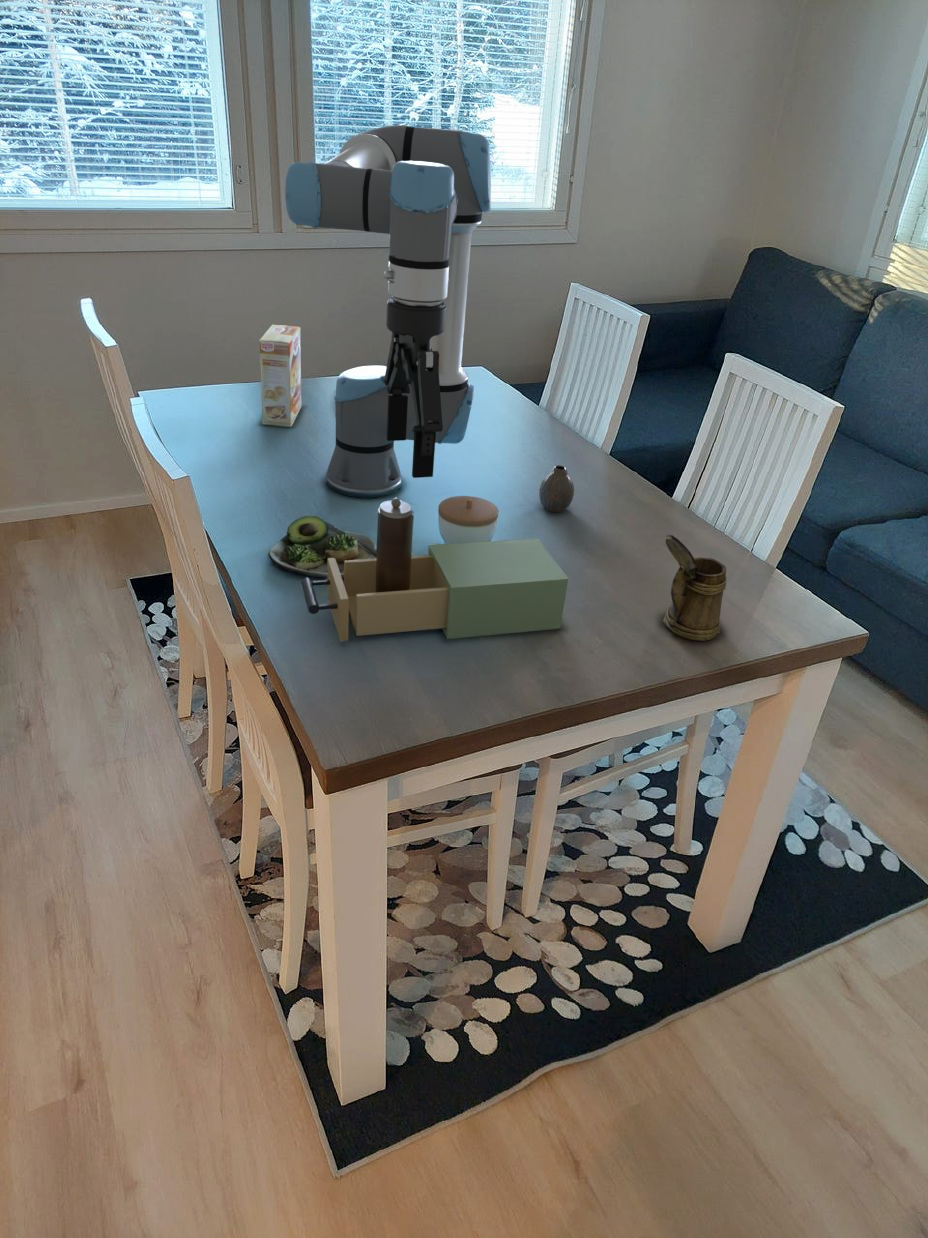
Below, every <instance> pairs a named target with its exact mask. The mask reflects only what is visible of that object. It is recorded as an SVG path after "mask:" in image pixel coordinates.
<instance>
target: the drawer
mask: <svg viewBox="0 0 928 1238" xmlns="http://www.w3.org/2000/svg"><path fill="white" fill-rule="evenodd" d="M300 585H301V587H302V592H303V597H304V599H305V604H306V607H307V611H308V613H309V614H311V615H316V614H318V613H319V612H320V611H326V610H330V612H331V615H332V618H333V622H334V624H335V628H336V632H337V635H338V639H339V641H340V642H348V641H349V621H350V620H351V621H350V622H351V624H352V627H353V630H354V633H355V635H356V637H357V636H358V637H360V636H373V635H383V634H393V633H394V634H395V633H404V632H414V631H415V632H416V631H426V630H438V629H442V628H447V617H448V605H449V593H450V589H449V587H448V585H447V583H446V582H445V580H444V578H443V576H442V574H441V572H440V570H439V568H438V566H437V564H436V563H435V561H434V559H433V557H432V555H428V554H423V555H411V573H410V590H405V591H392V592H378V593H375V586H376V558H375V559H360V560H345V561H344V578H342V577H341V574H340V571H339V568H338V565H337V562H336V559H335V558H328V559H327V578H326V579H321V580H320V579H318V580H312V579H311V578H309V577H304V578H303V579H302V580H301V582H300ZM317 586H327V591H326V592H327V597H326V598H327V601H328V603H323V604H319V602H318V598H317V596H316V595H317V594H316V591H315V588H314V587H317ZM349 617H350V619H349Z"/></svg>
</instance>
